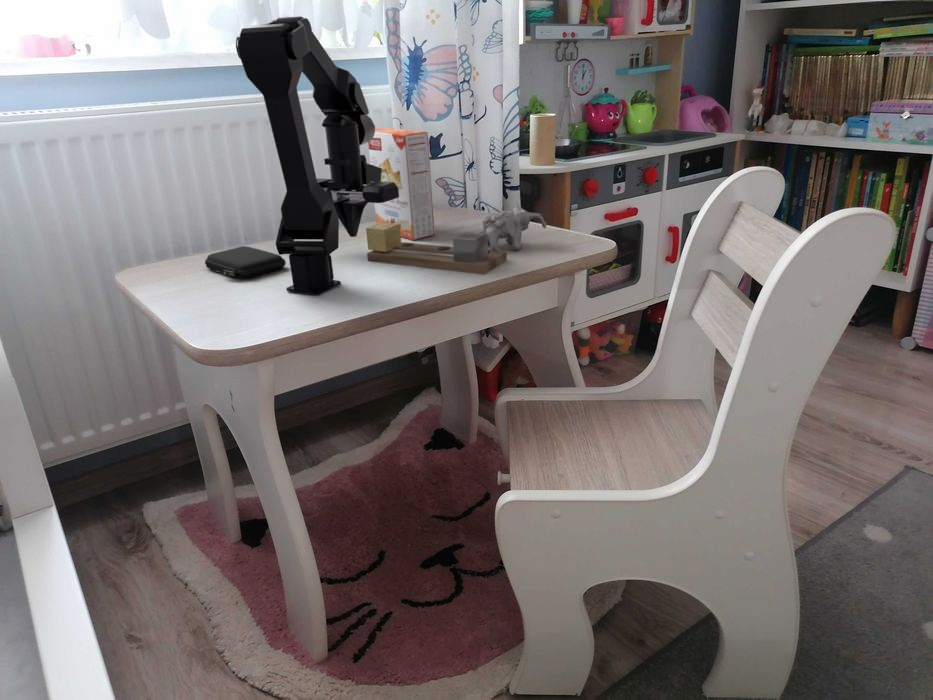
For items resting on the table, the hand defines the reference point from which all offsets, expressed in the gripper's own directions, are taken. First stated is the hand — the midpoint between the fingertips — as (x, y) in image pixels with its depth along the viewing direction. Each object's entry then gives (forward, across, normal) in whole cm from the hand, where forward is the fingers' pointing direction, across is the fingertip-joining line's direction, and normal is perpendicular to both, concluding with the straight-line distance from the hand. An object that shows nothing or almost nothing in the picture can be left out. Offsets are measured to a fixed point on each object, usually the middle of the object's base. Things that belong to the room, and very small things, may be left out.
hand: (353, 236), depth 130 cm
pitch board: (+4, -17, -2) cm, 17 cm away
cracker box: (+4, 0, -18) cm, 18 cm away
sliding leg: (+2, -7, -1) cm, 7 cm away
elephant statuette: (+4, -26, -15) cm, 30 cm away
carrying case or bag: (+4, +14, +15) cm, 21 cm away
